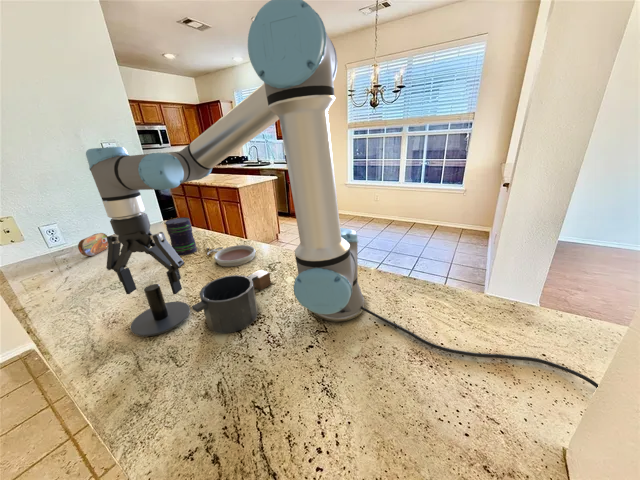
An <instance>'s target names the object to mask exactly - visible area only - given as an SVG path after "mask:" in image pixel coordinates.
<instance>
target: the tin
mask: <svg viewBox="0 0 640 480" xmlns="http://www.w3.org/2000/svg"><path fill="white" fill-rule="evenodd" d="M108 236H109V235H108V234H106V233H104V232H98V233H97V232H96V233H94V234H92V235H90V236H87V237H85V238H82V239H81V240H80V241H79V242H78V243H77V249H78V252H79V253H80V254H81V255H82V256H84V257H93V256H96V255H97V254H99V253H102V252H103V251H105V250H108V242H107V237H108ZM106 246H107V247H106Z"/></svg>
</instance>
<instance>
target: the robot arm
mask: <svg viewBox="0 0 640 480" xmlns="http://www.w3.org/2000/svg"><path fill="white" fill-rule="evenodd" d="M247 35H248V36H247V53H248V59H249V62H250V64H251V67H252V68H253V70H254V72H255V74H256V75H257V77H258V78H259V79H260V80H261V81H262V82H263V83H262V84H261V85H260V86H259V87H257V88H256V89H255V90H254V91H252V92H251V93H249V95H248V96H246V97H245V98H244V99H242V100H241V101H240V102H239V103H237V104H236V105H235V106H234V107H233V108H232V109H231V110H229V111H228V112H227V113H226V114H224V115H223V116H222V117H220V118H219V119H218V120H217V121H216V122H214V123H213V124H211V126H209V127H208V128H207V129H206V130H204V131H203V132H202V133H201V134H200V135H198V136H197V137H196V138H195V139H194V140H192V141H191V142H190V143H189V144H188V145H187V146H185V147H184V148H183V149H181V150H178V151H167V152H152V153H142V154H133V155H130V154H129V153H128V151H127V149H126V148H125V147H123V146H107V147H94V148H93V147H92V148H88V149H87V150H86V151H85V157H86V160H87V164H88V167H89V168H88V169H89V171H90V173H91V175H92V177H93V180H94V183H95V185H96V188H97V191H98V193H99V196H100V198H101V201H102V204H103V207H104V209H105V213H106V216H107V217H108V218H110V220H109V223H110V226H111V229H112V231H113V234H111V235H107V236H108V237H107V242H108V248H107V257H106V269H107V271H113V272H115V273H116V275H117V278H118V280H119V282H120V283H121V284H122V286H123V289H124V291H125V294H126V295H130V294H131V293H133V292H134V291H136V290H137V289H138V288H137V285H136V283H135V280H134V278H133V275H132V273H131V270H130V267H128V265H127V264H128V263H129V261H130V258H131V256H132V254H133V253H145V254H146V255H149V256H151V257H152V258H153V259H155V260H156V261H157V262H158V263H159V264H161V265H162V266H163V267H164V268H165V269H167V271H166V276H167V279H168V282H169V285H170V289H171V292H172V295H177V294H178V293H179V292H180V291H181V290H182V289H183V288H182V287H183V286H182V283H181V281H180V280H181V279H182V276H181V274H180V268H181V267H183V266H184V265H185V261H184V260H183V259H182V258H181V256H179V255H178V254H177V252H176V251H175V250H174V249H173V247H172V245H171V243H169V241H168V240H167V238H166V236H165V233H164V232H163V231H159V232H157V233H152V232H151V223H150V220H149V216H148V214H147V213H146V212H145V211H146V208H145V204H144V201H143V198H142V194H141V191H146V190H147V191H148V190H151V191H152V190H153V191H154V190H158V191H165V190H169V189H170V190H171V189H176V188H178V187H179V186H180V185H181V184H183V183H187V182H192V181H200V180H202V179H204V178H206V177H208V176H209V175H210V174H211V173H212V171H213V168H214V167H216V166H217V165H219V164H220V163H221V162H222V161H224V160H225V159H227V158H228V157H230V156H231V155H233V154H234V153H235V152H237V151H238V150H239V149H240V148H242V147H243V146H245V145H246V144H247V143H249V142H250V141H252V140H253V139H254V138H255V137H257V136H258V135H260V134H261V133H263V132H264V131H265V130H267V129H268V128H270V127H271V126H272V125H274V124H275V123H276V122H278V121H279V124H280V125H279V126H280V130H281V131H280V132H281V136H282V142H283V148H284V149H283V150H284V152H285V153H284V155H285V159H286V165H287V172H288V177H289V183H290V190H291V195H292V201H293V207H294V213H295V214H294V215H295V218H296V225H297V231H298V237H299V244H298V245H297V247H296V248H295V250H294V256H295V262H296V269H297V276H296V277H295V279H294V284H293V294H294V297H295V299H296V301H297V303H299V304H300V305H301V306H302V307H303V308H305V309H307V310H308V311H310V312H312V313H313V314H314V315H315V316H316V317H317V318H319V319H321V320H324V321H328V322H334V323H340V322H347V321H351V320H354V319H355V318H357V317H359V316H360V315H361V314H362V313H363V312H366V313H368V314H369V315H372V316H373V317H375V318H377V319H378V320H381V321H382V322H384V323H386V324H387V325H390V326H391V327H393V328H396V329H398V330H399V331H402V332H404V333H406V334H407V335H409V336H411V337H413V338H414V339H416V340H418V341H419V342H421V343H422V344H425V345H427V346H428V347H431V348H434V349H437V350H440V351H442V352H447V353H451V354H456V355H463V356H468V357H474V358H475V357H476V358H488V359H489V358H492V359H505V360H506V359H507V360H514V361H515V360H516V361H526V362H529V361H530V362H535V363H538V364H539V363H540V364H542V365H547V366H549V367H552V368H555V369H558V370H560V371H563V372H566V373H568V374H571V375H574V376H576V377H578V378H580V379H582V380H584V381H585V382H587V383H589V384H590V385H592V386H593V387H594V388H596V389H597V387H598V385H599V383H597V382H596V381H594V380H593V379H591V378H590V377H588V376H586V375H584V374H583V373H580V372H578V371H575V370H573V369H571V368H568V367H566V366H563V365H560V364H557V363H554V362H552V361H548V360H545V359H542V358H537V357H530V356H521V355H510V354H498V353H479V352H470V351H465V350H464V351H463V350H458V349H453V348H447V347H443V346H441V345H438V344H434V343H432V342H430V341H428V340H426V339H423V338H421V337H420V336H418V335H417V334H415V333H414V332H412V331H410V330H408V329H407V328H404V327H402V326H400V325H398V324H397V323H394V322H392V321H390V320H388V319H386V318H384V317H382V316H380V314H379V315H378V314H377V313H375V312H373V311H371V310H370V309H368V308H366V307H365V298H364V295H363V293H362V290H361V286H360V284H359V280H358V279H359V278H358V275H359V273H358V268H359V267H358V256H359V255H358V254H359V253H358V251H359V250H358V243H359V240H358V233H357V232H356V231H355V230H353V229H352V228H351V229H350V228H346V227H341V221H340V214H339V205H338V196H337V195H338V194H337V185H336V176H335V169H334V160H333V150H332V141H331V131H330V122H329V114H328V113H329V112H328V111H329V109H330V107H331V106H332V105H333V103H334V102H335V100H336V96H335V86H334V85H335V84H334V81H335V80H336V76H337V72H338V55H337V50H336V48H335V46H334V45H335V44H334V43H333V41H332V40H331V38H330V37H329V35H328V33H327V31H326V27H325V24H324V22H323V19H322V17H321V16H320V14H319V13H318V12H317V11H316V10H315V9H314V8H313V7H312V6H311V5H310V4H309V3H308V2H306V1H304V0H269V1H267V2H266V3H265V4H264V5H262V6H261V7H260V9H259V10H258V11H257V13H256V15H255V16H254V19H253V21H251V24H250V27H249V31H248V34H247ZM121 245H122V246H121Z"/></svg>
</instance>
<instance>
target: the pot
mask: <svg viewBox="0 0 640 480" xmlns="http://www.w3.org/2000/svg"><path fill="white" fill-rule="evenodd" d="M257 279H258V276H256V275H254V274H253V273H251V274H249V275H248V276H246V275H240V274H233V275H225V276H221V277H218V278H215V279H214V280H213V279H212V280H211V281H209V282H208V283H206V284H205V285H204V286H203V287H202V288H201V290H200V291H199V293H198V294H199V298H200V301H199V302H197V303H195V304H193V305H192V306H191V309H192V310H193V311H194V312H196V313H199V312H202V311H203V313H204V317H205V321H206V325H207V328H208V329H209V330H210V331H211V332H214V333H217V334H231V333H236V332H238V331H241V330H243V329H245V328H247V327H248V326H250V325H251V324H252V323H253V322H254V321H255V320H256V319H257V317H258V313H259V311H258V309H259V308H258V307H259V306H258V303H257V295H256V290H255V289H256V288H255V287H254V283H253V281H255V280H257Z"/></svg>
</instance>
